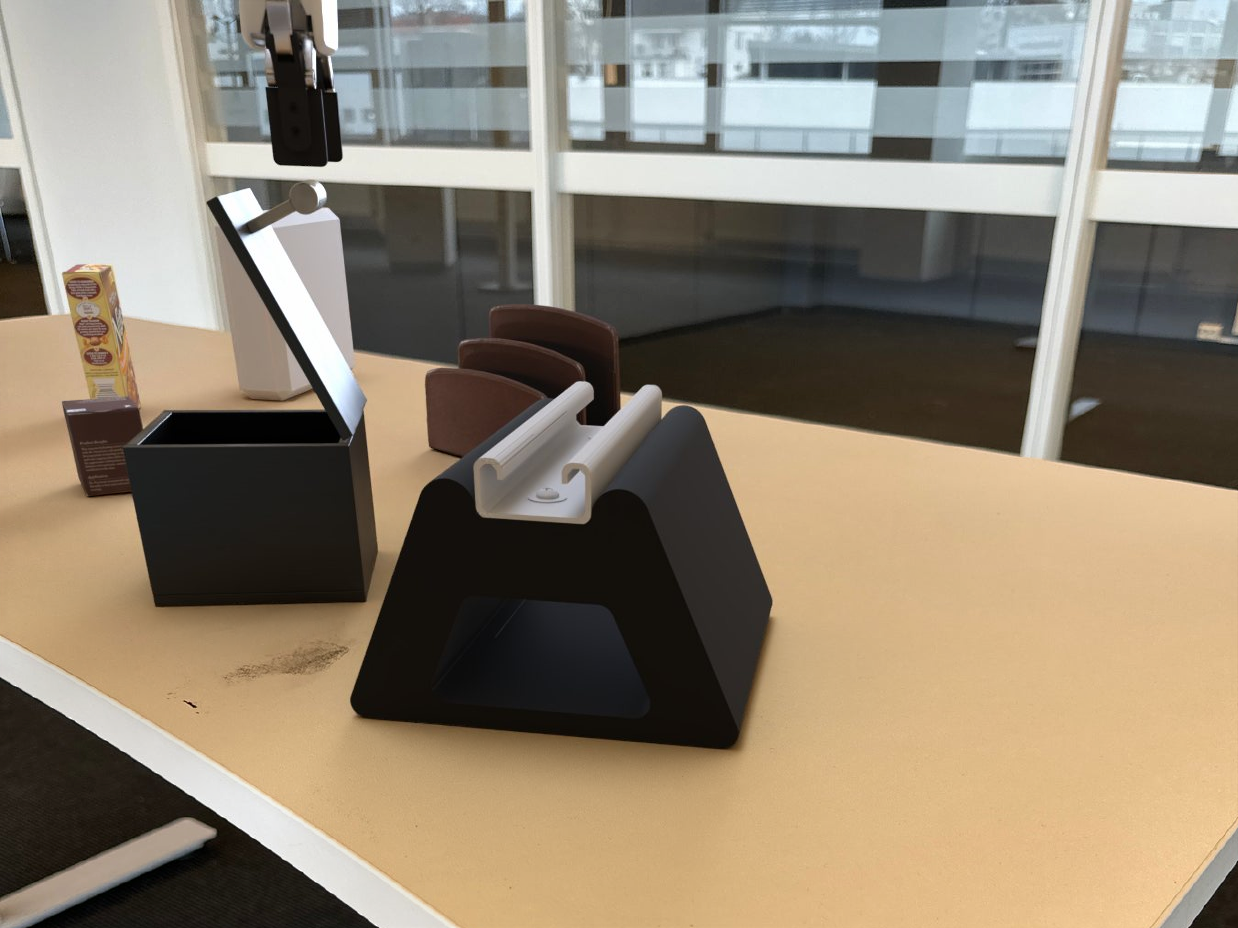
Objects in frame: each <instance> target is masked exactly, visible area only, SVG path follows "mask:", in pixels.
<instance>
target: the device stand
mask: <svg viewBox="0 0 1238 928" xmlns="http://www.w3.org/2000/svg"><path fill="white" fill-rule="evenodd" d="M593 399H594V390H593V387H592V385H591V384H590V383H588V382H581V381H579V382H576V383H574V384H573V385H572V386H571V387H569V388H568V389H567V390H565V391H564V392H563V393H562V394H560V395H559V396H558V397H557V398H555V399H552V398H544V399H541V400H538V401H537V402H535V403H534V404H533V405H531V406H530V407H529V408H527V409H526V410H525V411H523V412H522V413H521V414H519V415H518V416H517V417H515V418H514V419H513V420H512V421H510V422H509V423H508V424H506V425H505V426H504V427H502V428H501V429H500V430H498V431H497V432H496V433H494V434H493V435H492V436H490V437H489V438H488V439H486V440H485V441H484V442H482V443H481V444H480V445H478V446H477V447H476V448H474V449H473V450H472V451H470V452H469V453H468V454H466V455H465V456H464V457H460V459H459V460H457V461H455V462H454V463H453V464H452V465H450V466H449V467H448V468H446V469H445V470H444V471H442V472H440V474H439V475H437V476H436V477H434V478H433V479H432V480H430V481H429V482H428V483H427V484H426V485H424V487H423V488H422V489H421V491H420V493H419V496H418V499H417V501H416V504H415V507H414V510H413V514H412V517H411V519H410V521H409V525H408V528H407V531H406V534H405V537H404V540H403V543H402V546H401V548H400V552H399V555H398V557H397V560H396V563H395V566H394V569H393V571H392V575H391V577H390V581H389V583H388V586H387V589H386V591H385V594H384V595H385V596H384V598H383V601H382V604H381V605H380V608H379V609H380V611H379V613H378V616H377V618H376V620H375V624H374V627H373V630H372V633H371V637H370V639H369V641H368V644H367V648H366V651H365V654H364V656H363V659H362V662H361V665H360V668H359V671H358V674H357V677H356V678H355V683H354V686H353V688H352V691H351V695H350V696H349V703H350V706H351V709H352V710H353V711H354V712H355V713H356V714H357V716H359V717H362V718H364V719H371V720H372V719H373V720H383V721H385V720H386V721H395V722H406V723H421V724H431V725H442V726H452V727H464V728H465V727H466V728H476V729H489V730H500V731H509V732H510V731H513V732H522V733H534V734H546V735H558V736H568V737H569V736H570V737H580V738H590V739H591V738H592V739H603V740H616V741H626V742H638V743H648V744H649V743H651V744H661V745H673V746H684V747H686V746H687V747H698V748H706V749H707V748H708V749H709V748H710V749H720V750H726V749H730V748H732V747H733V746H734V745H735V744H736V743H737V742H738V740H739V736H740V733H741V729H742V725H743V722H744V718H745V714H746V709H747V706H748V702H749V697H750V693H751V689H752V686H753V683H754V679H755V674H756V670H757V667H758V662H759V658H760V654H761V650H762V647H763V642H764V639H765V634H766V632H767V631H766V630H767V627H768V623H769V619H770V616H771V611H772V607H773V603H774V601H773V596H772V594H771V592H770V589H769V586H768V584H767V581H766V578H765V576H764V573H763V570H762V567H761V565H760V562H759V560H758V556H757V555H756V552H755V549H754V547H753V544H752V541H751V538H750V536H749V533H748V530H747V528H746V525H745V521H744V520H743V517H742V515H741V511H740V509H739V506H738V504H737V501H736V498H735V496H734V493H733V491H732V488H731V485H730V483H729V480H728V477H727V474H726V472H725V469H724V466H723V464H722V461H721V459H720V455H719V453H718V451H717V447H716V446H715V442H714V439H713V438H712V437H713V436H712V434H711V432H710V429H709V427H708V423H707V422H706V419H705V417H704V416H703V413H701V412H700V411H699V410H698V409H697V408H696V407H693V406H691V405H686V404H681V405H677V406H674V407H672V408H671V409H669V410H668V411H667V412H666V413H665V415H664V416H662V415H663V414H662V411H663V392H662V389H661V388H660V387H659V386H658V385H656V384H645V385H643V386H642V387H641V388H640V389H639V390H638V391H637V392H636V393H634V395H633V396H632V397H630V399H629V400H628V401H627V402H626V403H625V404H624V405H623V406H621V409H620V410H619V411H618V412H617V413H616V414H615V415H614V416H613V417H612V418H611V419H610V420H609V421H608V423H607V424H606V425H605V426H587V425H580V424H579V423H578V422H577V420H576V414H577V413H579V412H580V411H581V410H582V409H583V408H584V407H585V406H586V405H588V404H589V403H590V402H591V401H592V400H593Z"/></svg>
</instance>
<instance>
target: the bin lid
mask: <svg viewBox="0 0 1238 928" xmlns="http://www.w3.org/2000/svg"><path fill="white" fill-rule="evenodd" d="M289 190H290V191H289V194H288V199H287V200H286V201H283V202H281V203H279V204H278V205H276V206H274V207H272V208H271V209H268V210H269V211H267V212H265V213H263V208H262V207H261V205H260V204H259V201H258V200H257V198H256V197H255V195H254V192H253V191H252V189H251V188H250V187H246V188H243V189H239V190H235V191H232V192H227V193H224V194H220V195H218V196H214V197H212V198H210V199H209V200H207V201H206V203H205V204H206V206H207V207H208V209H209V211H210V212H211V214H212V216H213V217H214V220H215V221H216V224H217V223H218V225H219V226H220V228H221V230H222V231H223V233H224V235H225V237H226V238H227V240H228V242H229V244H230V245H231V247H232V249H233V251H234V252H235V254H236V256H237V258H238V259H239V261H240V263H241V265H242V266H243V268H244V270H245V271H246V273H247V275H248V277H249V278H250V280H251V282H252V284H253V285H254V287H255V289H256V291H257V292H258V294H259V296H260V298H261V299H262V301H263V303H264V305H265V306H266V308H267V310H268V311H269V313H270V315H271V317H272V318H273V320H274V322H275V324H276V325H277V327H278V329H279V331H280V332H281V334H282V336H283V338H284V339H285V341H286V343H287V345H288V346H289V348H290V350H291V351H292V353H293V355H294V357H295V358H296V360H297V362H298V364H299V365H300V367H301V369H302V371H303V372H304V374H305V376H306V378H307V379H308V381H309V383H310V385H311V386H312V388H313V389H312V390H313V392H314V393H315V395H316V397H317V399H318V400H319V402H320V404H321V406H322V407H323V409H325V411H326V412H327V414H328V416H329V418H330V419H331V421H332V423H333V425H334V426H335V428H336V430H337V432H338V433H339V435H340V437H341V438H342V440H346V439H348V438H350V437H352V436H353V434H354V431H355V429H356V426H357V424H358V421H359V419H360V417H361V414H362V412H363V410H364V409H365V406H366V404H367V402H368V398H367V397H366V395H365V393H364V391H363V390H362V388H361V387H360V384H359V383H358V381H357V379H356V377H355V375H354V373H353V372H352V370H350V368H349V366H348V364H347V363H346V361H345V359H344V357H343V355H342V354H341V352H340V350H339V348H338V346H337V345H336V343H335V341H334V339H333V337H332V336H331V334H330V332H329V330H328V328H327V326H326V325H325V323H324V321H323V319H322V317H321V316H320V314H319V312H318V310H317V308H316V307H315V305H314V303H313V301H312V299H311V298H310V296H309V294H308V292H307V290H306V289H305V287H304V285H303V283H302V281H301V280H300V278H299V276H298V274H297V272H296V270H295V269H294V267H293V265H292V263H291V261H290V260H289V258H288V256H287V254H286V252H285V251H284V249H283V247H282V245H281V243H280V242H279V240H278V238H277V236H276V234H275V233H274V231H273V229H272V227H271V224H273V223H275V222H277V221H278V220H280V219H282V218H284V217H286V216H288V215H290V214H291V213H293V212H295V211H297V212H298V213H300V214H303V215H309V214H312V213H313V212H315V211H317V210H319V209H321V208H324V207H325V204H326V202H327V191H326V188H325V187H324V186H323V184H322V183H320V182H319V181H317V180H316V179H306V180H303V181H300V182H297V183H295V184H293V185H292V187H291V188H290V189H289Z"/></svg>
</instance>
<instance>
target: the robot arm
mask: <svg viewBox="0 0 1238 928" xmlns="http://www.w3.org/2000/svg"><path fill="white" fill-rule="evenodd" d="M238 12H239V21H240V22H239V23H240V24H239V25H240V32H241V33H240V34H241V37H242V40H243V41H244V42H245V44H246V45H247V46H248V47H249V48H250V49H252V50H254V51H257V52H260V53H263V54H264V71H265V80H266V84H267V86H265V87H264V88H265V99H266V108H267V115H268V125H269V134H270V142H271V149H272V150H271V151H272V159H273V161H274V163H275V164H276V165H277V166H281V167H282V166H283V167H284V166H285V167H309V168H312V167H314V168H324V167H326V166H327V165H328V163H341V162H342V160H343V158H344V152H343V141H342V129H341V118H340V107H339V106H340V105H339V96H338V95H339V93H338V92H337V91H336V92H335V76H334V69H333V64H332V63H333V62H332V58H331V56H333V55H334V54H335V53H336V52H338V48H339V30H338V29H339V25H338V24H339V23H338V21H339V20H338V0H238Z"/></svg>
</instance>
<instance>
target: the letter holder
mask: <svg viewBox="0 0 1238 928" xmlns="http://www.w3.org/2000/svg"><path fill="white" fill-rule="evenodd" d="M488 324H489V337H476V338H466V339H462V340H461V341H460V342H459V344H458V346H457V363H458V367H457V368H455V367H437V368H432V369H429V370H428V371H427V372H426V374H425V377H424V391H425V409H426V410H425V411H426V425H427V426H426V430H427V432H426V433H427V442H428V448H430V449H432V450H437V451H440V452H443V453H446V454H450V455H451V456H452V455H453V456H457V457H460V458H462V457H464V456H465V455H466V454H468V453H469V452H470V451H472V450H473V449H474V448H476V447H477V446H478V445H480V444H481V443H482V442H484V441H485V440H486V439H488V438H489V437H490V436H492V435H493V434H494V433H496V432H497V431H498V430H500V429H501V428H502V427H504V426H505V425H506V424H508V423H509V422H510V421H512V420H513V419H514V418H515V417H517V416H518V415H519V414H521V413H522V412H523V411H525V410H526V409H527V408H529V407H530V406H531V405H533V404H534V403H535V402H537V401H538V400H541V399H544V398H552V399H555V398H557V397H558V396H559V395H560V394H562V393H563V392H564V391H565V390H567V389H568V388H569V387H571V386H572V385H573V384H574V383H576V382H579V381H581V382H588V383H590V384H591V385H592V387H593V390H594V399H593V400H592V401H591V402H590V403H589V404H588V405H586V406H585V407H584V408H583V409H582V410H581V411H580V412H579V413H577V414H576V420H577V422H578V423H579V424H580V425H587V426H605V425H606V424H607V423H608V421H609V420H610V419H611V418H612V417H613V416H614V415H615V414H616V413H617V412H618V411H619V410H620V409H621V408H622V405H621V404H622V402H621V399H622V398H621V377H620V359H619V358H620V357H619V335H618V332H617V330H616V327H614V326H613V325H611V324H610V323H608V322H606V321H603V320H601V319H598V318H596V317H593V316H590V315H587V314H584V313H581V312H577V311H574V310H569V309H565V308H561V307H555V306H551V305H544V304H543V305H542V304H529V303H511V304H510V303H509V304H498V305H495V306H493V307H491V309H490V310H489V314H488Z"/></svg>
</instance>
